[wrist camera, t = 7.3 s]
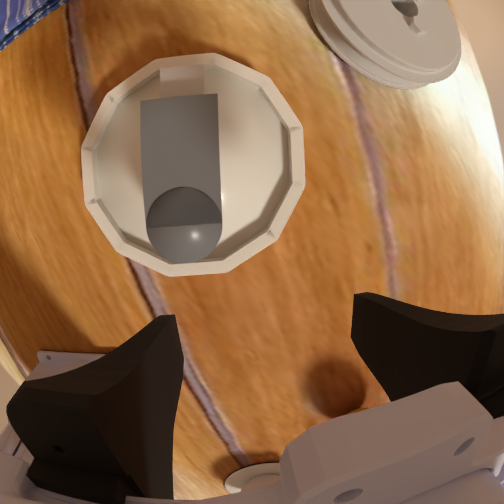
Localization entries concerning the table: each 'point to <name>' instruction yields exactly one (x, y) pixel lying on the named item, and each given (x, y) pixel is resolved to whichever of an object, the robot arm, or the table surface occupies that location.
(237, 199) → the plate
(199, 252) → the connector
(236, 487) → the teacup
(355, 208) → the table surface
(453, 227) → the table surface
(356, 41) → the lid
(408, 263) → the table surface
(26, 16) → the dish towel
